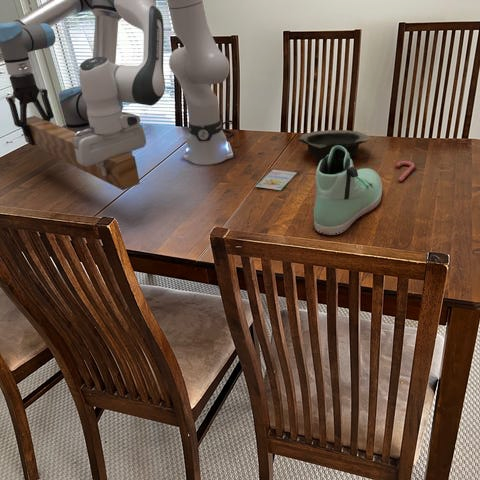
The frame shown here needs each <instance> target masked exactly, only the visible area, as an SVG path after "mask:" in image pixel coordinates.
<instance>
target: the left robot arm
mask: <svg viewBox="0 0 480 480" xmlns="http://www.w3.org/2000/svg"><path fill="white" fill-rule="evenodd" d="M85 11H91V13H92V15H94V30H93V31H94V32H93V49H92V50H93V51H92V58H93V57H105V58H107V59H108V60H109V62H111V63H113V64H116V60H117V46H118V32H119V22H120V20H122V19H123V18H122V17H121V16H120V15H119V14H118V12H117V11H116V8H115V6H114V0H46V1H45V2H43V3H42V4H40V5H39V6H37V7H35V8H33V9H32V10H30V11H28V12H26V13H25V14H23V15H21V16H20V17H18V18H16V19H14V20H12V21H7V22H1V23H0V52H1V55H2V58H3V61H4V64H5V67H6V71H7V75H8V76H9V81H10V84H11V87H12V94H11V95H10V96H6V97H5V100H6V101H7V103H8V105H9V109H10V112H11V117H12V120H13V123H14V126H15V127H17V128H21V131H22V130H23V131H22V134H23V133H24V134H23V136H24V135H25V136H26V137H28V140H29V143H28V144H29V145H30V146H33V145H35V144H34V140H33V137H32V134H31V130H30V127H29V126H27V118H28V117H27V116H28V115H27V114H28V113H27V112H28V111H27V108H28V104H31V103H32V104H33V105H34V106H35V108H36V110H37V111H38V113H39V115H40V117H41V119H44V120H46V121H49V122H51V120H52V119H54V117H55V116H54V113H53V109H52V105H51V102H50V100H49V96H48V95H49V94H48V89H45V88H39V87H38V86H37V81H36V78H35V75H34V73H32V72H33V68H32V65H31V61H30V57H29V53H31V52H35V51H39V50H43V49H48V48H50V47H52V46H54V45H55V43H56V41H57V40H56V39H57V38H56V34H55V30H54V29H53V26H55V25H57V24H58V23H60V22H61V21H63V20H64V19H66V18H68V17H70V16H71V15H78V14H80V13H82V12H85ZM39 95H40V96H41V101H42V103H43V106H44V108H43V106H42V104H41V101H40V100H39V99H38V96H39ZM16 100H18V101H19V103H18V104H19V112H18V109H17V108H18V107H17V105H16ZM58 100H59V105H60V108H61V113H62V116H63V119H64V123H65V126H66V129H68V130H71V131H73V132H78V131H83V130H85V129H88V128H90V124H89V120H88V115H87V105H86V102H85V100H84V98H83V94H82V90H81V85H78V86H73V87H69V88H66V89H63V90H61V91H60V92H59V93H58ZM123 103H124V102H119V105H120V107H121V111H122V112H123V107H124V106H123V105H124V104H123Z"/></svg>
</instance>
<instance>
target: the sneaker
mask: <svg viewBox="0 0 480 480" xmlns="http://www.w3.org/2000/svg"><path fill="white" fill-rule="evenodd" d="M317 165H318V166H317V168H316V172H315V201H314V207H313V225H314V229H315V231H316V232H318V233H320V234H323V235H326V236H327V235H328V236H336V235H339V234H342V233H344V232H345V231H347V230H348V229H349V228H350V227H351V226H352V225H353V224H354V222H356V221H357V220H358V219H359V218H360V217H362V216H363V215H365V214H367V213H370V212H372V210H374V209H375V208H377V207H378V205H380V203H381V200H382V196H383V184H382V183H383V182H382V179H381V176H380V175H379V173H378V172H377V171H376V170H374V169H372V168H367V167H365V168H358V169H357V168H355V167H354V161H353V158H352V159H350V156H349V153H348V152H347V150H346V149H345V148H344V147H342V146H334V147H333V148H332V149H331V152H330V154H329V155H327V156H326V157H325V158H324V159H322V160H321V161H320V163H318V164H317ZM343 230H344V231H343ZM319 231H320V232H319ZM322 232H323V233H322ZM339 232H340V233H339ZM326 233H327V234H326ZM328 233H329V234H328ZM335 233H337V234H335Z"/></svg>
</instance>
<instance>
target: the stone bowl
mask: <svg viewBox="0 0 480 480" xmlns="http://www.w3.org/2000/svg"><path fill="white" fill-rule="evenodd" d="M369 140H371V137H370V136H368V135H367V134H366V133H363V132H359V131H357V130H349V129H348V130H343V129H341V130H339V129H328V130H316V131H311V132H305V133H303V134H302V135H300V137H299V139H298V140H297V141H299V142H301V143H303V144H306V145H307V150H308V152H309V154H310V155H311V157H313V158H315V159H316V163H317V164H319V163H320V161H321V160H322V159H324V158H325V157H326V156H327V155H329V154H330V152H331V149H332V148H333V147H334V146H342V147H344V148H345V149H346V150H347V152H348V153H349V156H350V159H352V160H353V159H356V157H357V155H358V153H359V145H362V144H364V143H366V142H368V141H369Z"/></svg>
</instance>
